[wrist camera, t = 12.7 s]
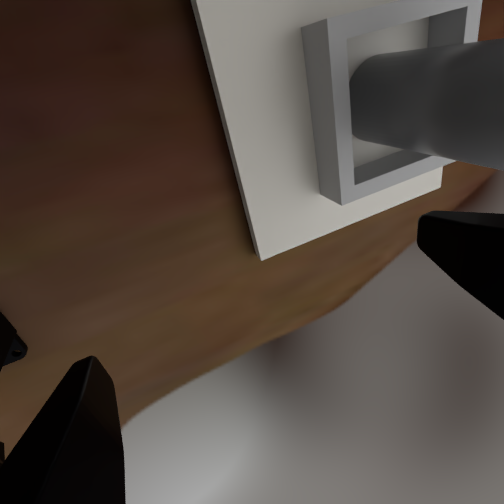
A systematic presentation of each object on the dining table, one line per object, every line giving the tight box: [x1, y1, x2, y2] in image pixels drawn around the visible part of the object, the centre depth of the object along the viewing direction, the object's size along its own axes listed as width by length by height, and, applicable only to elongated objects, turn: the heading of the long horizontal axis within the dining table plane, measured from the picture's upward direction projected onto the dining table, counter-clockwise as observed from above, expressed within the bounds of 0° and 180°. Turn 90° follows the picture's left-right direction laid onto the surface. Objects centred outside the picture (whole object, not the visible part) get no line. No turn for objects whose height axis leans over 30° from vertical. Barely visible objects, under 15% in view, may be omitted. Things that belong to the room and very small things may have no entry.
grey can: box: [349, 38, 504, 170], centre depth 15 cm, size 5×5×13 cm
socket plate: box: [191, 0, 482, 261], centre depth 19 cm, size 16×16×4 cm
